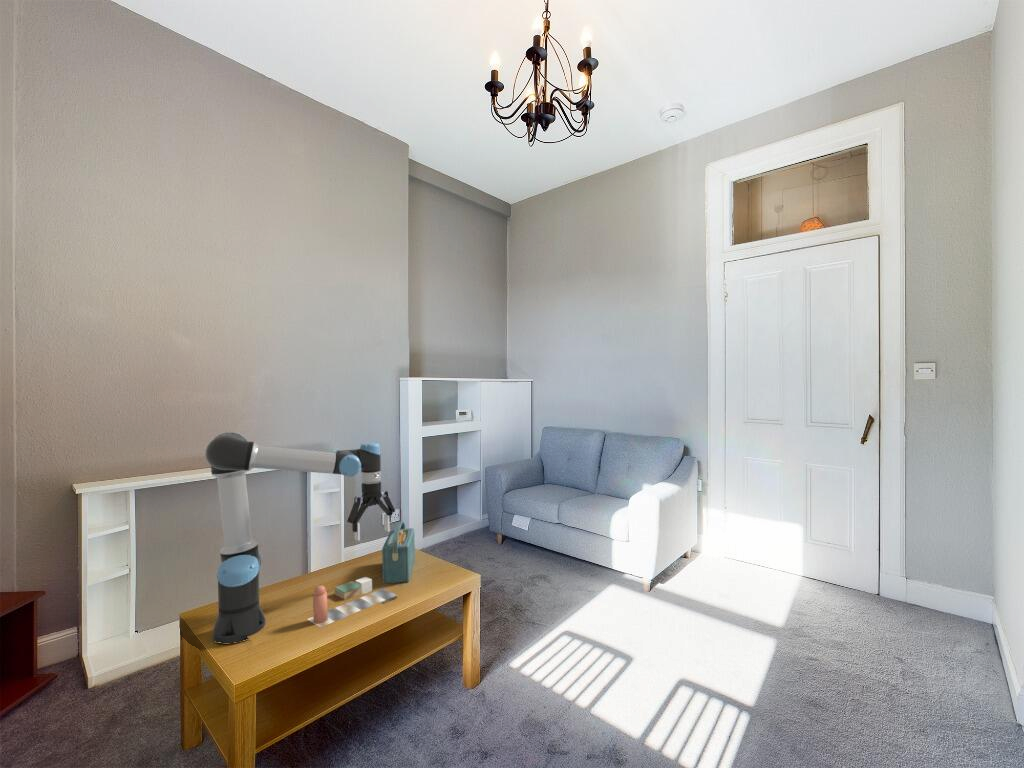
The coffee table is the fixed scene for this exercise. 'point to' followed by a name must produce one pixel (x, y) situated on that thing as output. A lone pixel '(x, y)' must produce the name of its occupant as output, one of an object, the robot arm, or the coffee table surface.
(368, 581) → the white cube
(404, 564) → the radio
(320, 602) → the pink rounded cylinder
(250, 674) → the coffee table surface
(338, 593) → the stand
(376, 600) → the board
